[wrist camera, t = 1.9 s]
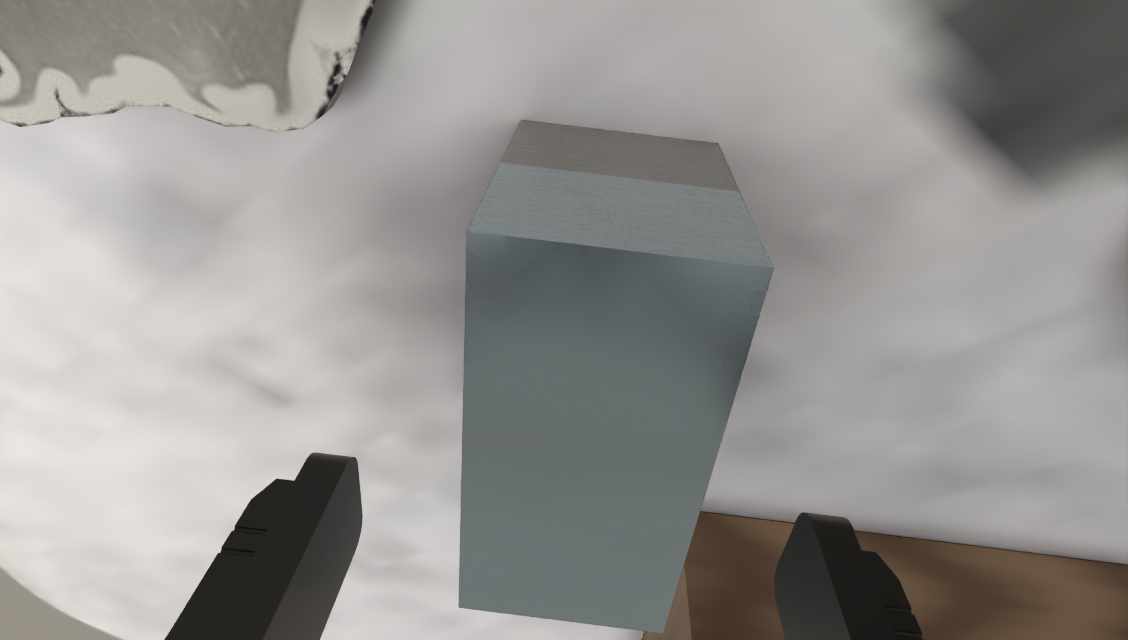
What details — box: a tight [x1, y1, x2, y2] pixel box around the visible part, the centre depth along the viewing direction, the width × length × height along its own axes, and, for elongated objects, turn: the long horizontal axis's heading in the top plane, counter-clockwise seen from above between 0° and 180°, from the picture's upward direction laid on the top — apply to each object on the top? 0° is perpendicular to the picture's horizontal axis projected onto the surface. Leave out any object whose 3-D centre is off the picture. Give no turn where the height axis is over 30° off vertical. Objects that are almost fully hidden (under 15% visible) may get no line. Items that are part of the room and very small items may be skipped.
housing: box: [459, 120, 774, 633], centre depth 16 cm, size 5×10×7 cm, turn 174°
